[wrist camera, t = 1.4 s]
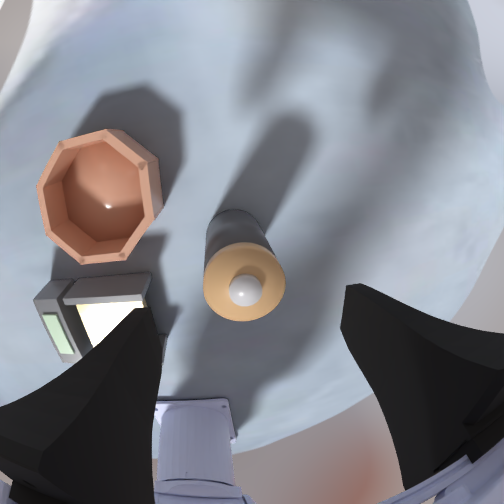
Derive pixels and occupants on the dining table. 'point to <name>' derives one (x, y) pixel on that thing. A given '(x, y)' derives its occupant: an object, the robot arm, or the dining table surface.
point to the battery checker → (82, 292)
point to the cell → (240, 268)
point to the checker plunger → (104, 317)
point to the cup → (99, 195)
